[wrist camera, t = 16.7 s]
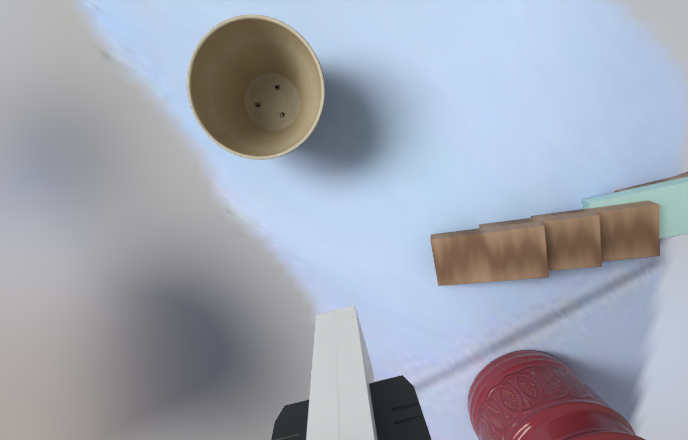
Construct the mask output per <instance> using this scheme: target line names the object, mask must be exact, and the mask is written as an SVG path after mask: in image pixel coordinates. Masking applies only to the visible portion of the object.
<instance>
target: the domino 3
mask: <svg viewBox="0 0 688 440" xmlns="http://www.w3.org/2000/svg"><path fill="white" fill-rule="evenodd" d="M586 211H593V212H595V213H597V214H598V215H600V238H601V261H610V260H621V259H632V258H643V257H654V256H660V237H659V204H657V203H654V202H651V201H649V200H648V201H641V202H634V203H626V204H619V205H611V206H604V207H596V208H589V209H581V210H574V211H566V212H559V213H551V214H544V215H536V216H531V218H537V217H545V216H553V215H562V214H570V213H578V212H586Z"/></svg>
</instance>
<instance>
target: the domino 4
mask: <svg viewBox="0 0 688 440" xmlns="http://www.w3.org/2000/svg"><path fill="white" fill-rule="evenodd" d="M648 200H649V201H651V202H654V203H657V204H659V237H660V239H661V238H667V237H673V236H678V235H684V234H688V177H684V178H679V179H675V180H670V181H666V182H661V183H656V184H652V185H647V186H643V187H638V188H633V189H629V190H624V191H620V192H615V193H610V194H606V195H601V196H597V197H592V198H588V199H583V200H582V201H583V207H584V209H589V208H596V207H604V206H611V205H619V204H626V203H634V202H641V201H648Z"/></svg>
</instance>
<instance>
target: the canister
mask: <svg viewBox="0 0 688 440" xmlns="http://www.w3.org/2000/svg"><path fill="white" fill-rule="evenodd" d="M468 411H469V415H470V419H471V423H472V426H473V429H474V431H475V433H476V435H477V437H478V439H479V440H645V439H643V438H641V437H638V436H636V435H635V433H634V431H633V429H632V427H631V426H630V424H629V423H628V422H627V420H626V419H625V418H624V417H623V416H621V415H620V414H619V413H618V412H616V411H615V410H613V409H611V408H610V407H609V406H608V405H607V404H606V403H605V402H604V401H603V400H602V399H601V398H600V397H599V396H598V395H596V394H595V393H594V392H593V391H592V390H591V389H590V388H589V387H588V386H587V385H586V384H585V383H584V382H583V381H582V379H581V378H580V377H579V375H578V374H577V373H576V372H574V371H573V370H572V369H571V368H570V367H569V366H568V365H566V364H565V363H563V362H561V361H560V360H557V359H556V358H554V357H553V356H551V355H549V354H546V353H543V352H539V351H529V350H527V351H517V352H512V353H509V354H506V355H504V356H501V357H499V358H497V359H496V360H494V361H492V362H491V363H490V364H488V365H487V366H486V367H485V368H484V369H483V370H482V371H481V372H480V373H479V374H478V376H477V377H476V379H475V380H474V382H473V384H472V386H471V388H470V391H469V396H468Z"/></svg>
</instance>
